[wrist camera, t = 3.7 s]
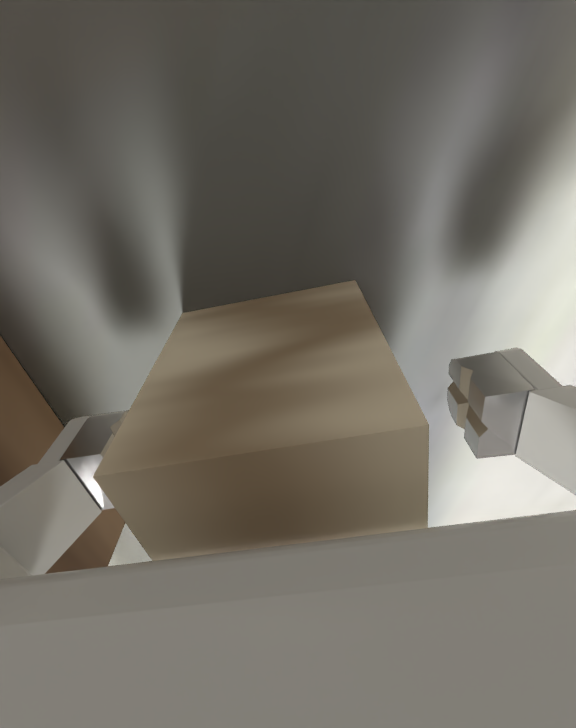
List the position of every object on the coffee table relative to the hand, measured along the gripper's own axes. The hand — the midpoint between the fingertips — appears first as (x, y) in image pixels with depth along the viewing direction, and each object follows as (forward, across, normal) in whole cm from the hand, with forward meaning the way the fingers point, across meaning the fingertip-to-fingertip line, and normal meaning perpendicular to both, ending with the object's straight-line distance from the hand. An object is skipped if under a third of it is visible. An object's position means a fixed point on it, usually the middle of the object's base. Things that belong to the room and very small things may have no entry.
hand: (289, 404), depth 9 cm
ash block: (+2, 0, 0) cm, 2 cm away
